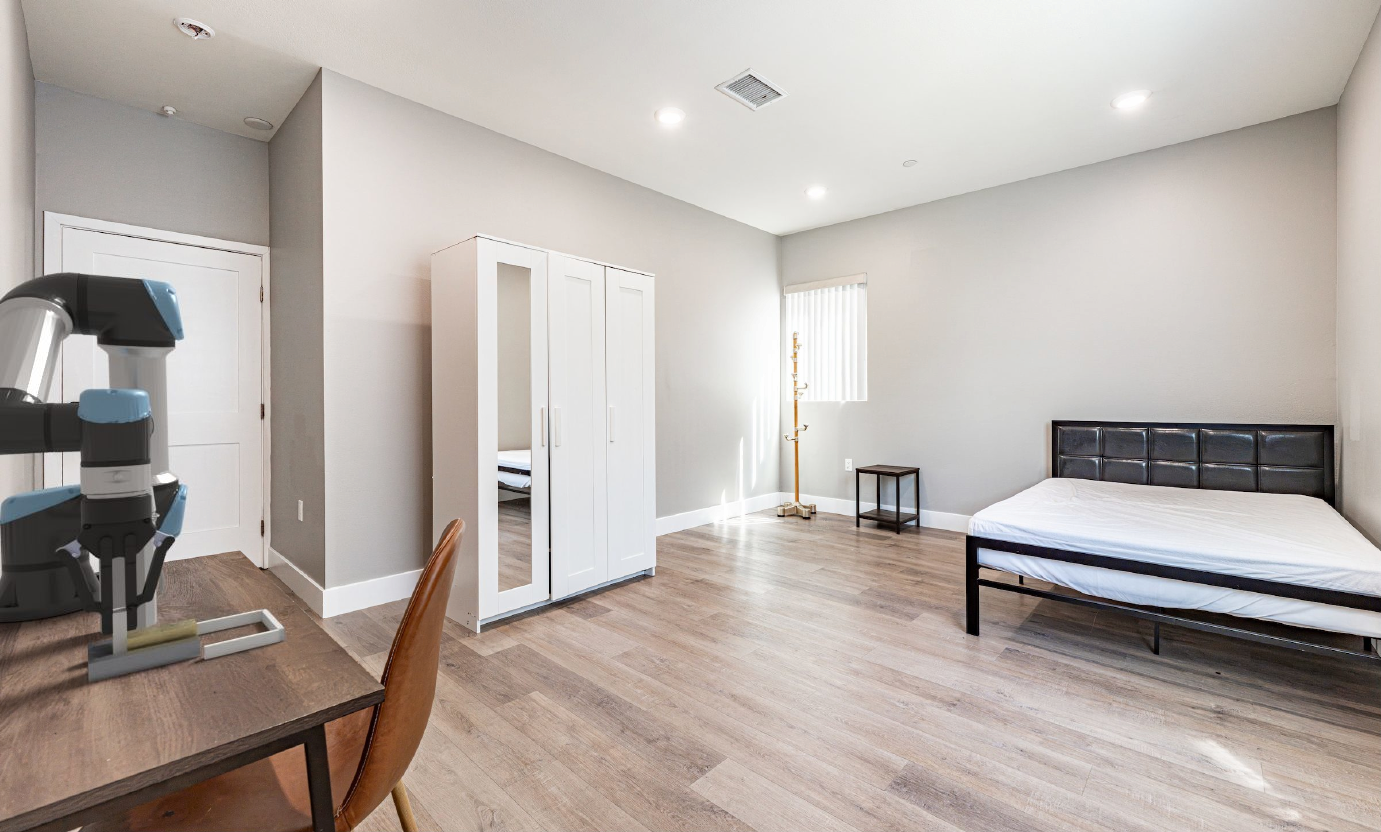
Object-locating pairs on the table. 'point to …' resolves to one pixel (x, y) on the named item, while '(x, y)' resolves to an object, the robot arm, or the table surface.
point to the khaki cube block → (180, 630)
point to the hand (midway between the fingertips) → (120, 653)
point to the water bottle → (143, 561)
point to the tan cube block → (145, 637)
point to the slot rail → (137, 657)
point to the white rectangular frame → (244, 642)
